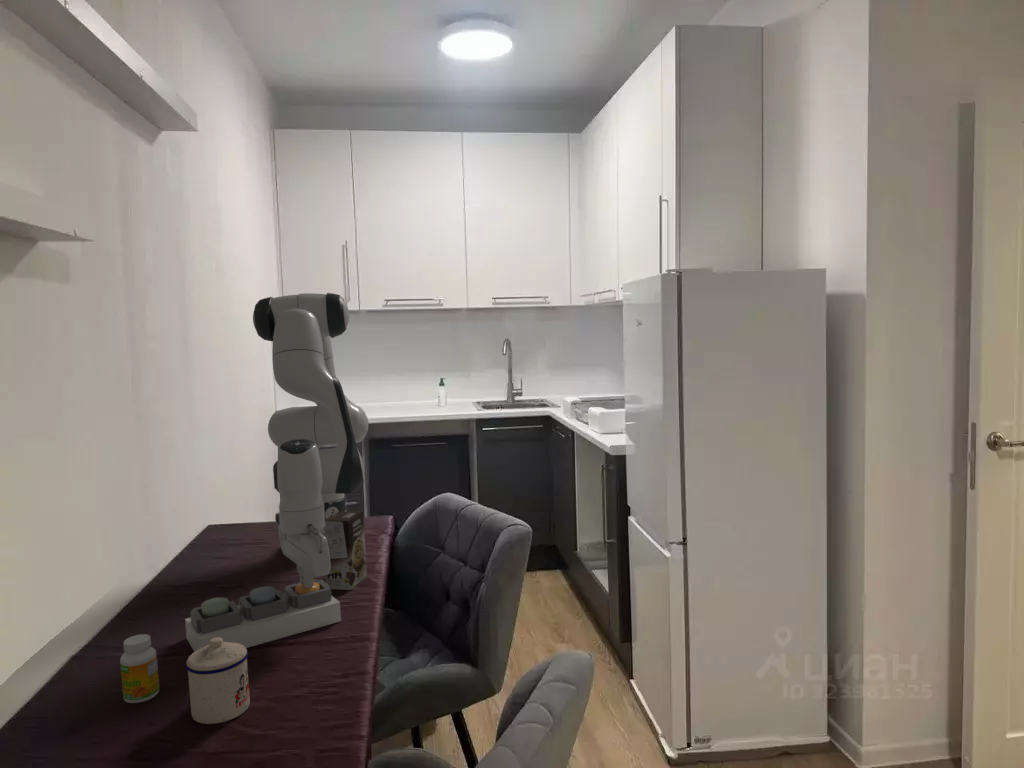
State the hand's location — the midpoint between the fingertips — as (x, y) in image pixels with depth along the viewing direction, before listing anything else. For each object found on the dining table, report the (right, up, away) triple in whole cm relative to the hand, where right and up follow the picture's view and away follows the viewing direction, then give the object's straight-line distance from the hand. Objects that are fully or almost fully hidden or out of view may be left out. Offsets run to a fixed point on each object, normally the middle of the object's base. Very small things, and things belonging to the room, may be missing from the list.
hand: (307, 586), depth 149 cm
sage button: (-15, -2, -10) cm, 18 cm away
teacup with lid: (-4, -10, -33) cm, 35 cm away
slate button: (-7, -2, -5) cm, 9 cm away
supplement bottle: (-19, -10, -29) cm, 36 cm away
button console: (-7, -8, -4) cm, 11 cm away
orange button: (0, -2, 0) cm, 2 cm away
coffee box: (+4, -5, +20) cm, 21 cm away
